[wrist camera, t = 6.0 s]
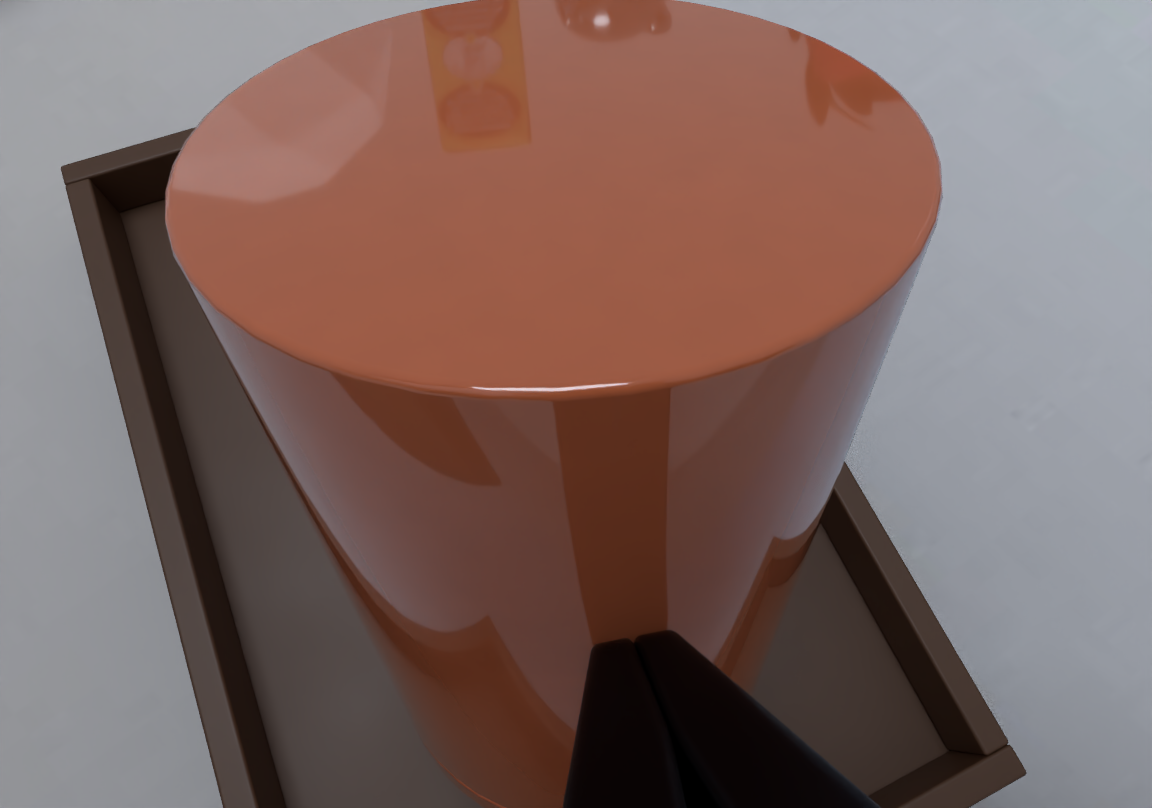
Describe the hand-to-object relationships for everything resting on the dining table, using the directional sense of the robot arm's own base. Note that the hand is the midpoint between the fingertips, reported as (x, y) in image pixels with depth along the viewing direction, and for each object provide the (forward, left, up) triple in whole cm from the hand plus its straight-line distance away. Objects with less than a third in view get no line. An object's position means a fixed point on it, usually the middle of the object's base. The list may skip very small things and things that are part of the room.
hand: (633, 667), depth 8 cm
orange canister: (+1, 0, -8) cm, 8 cm away
